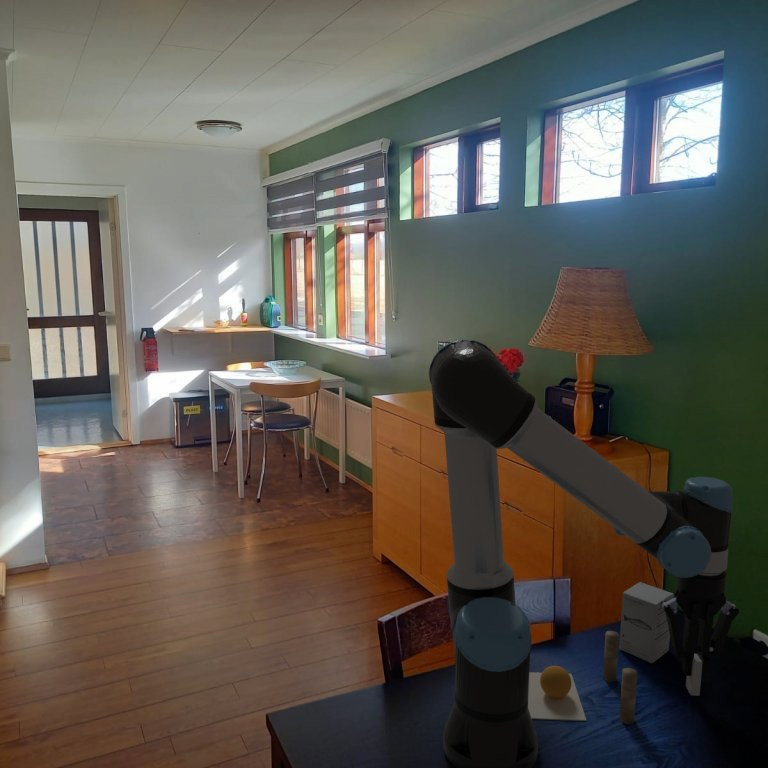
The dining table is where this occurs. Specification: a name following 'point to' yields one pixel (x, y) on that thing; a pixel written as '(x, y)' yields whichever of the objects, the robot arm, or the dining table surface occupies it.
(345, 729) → the dining table surface
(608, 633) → the left post
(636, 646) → the supplement box
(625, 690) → the right post
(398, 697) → the dining table surface
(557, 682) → the ball
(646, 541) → the robot arm
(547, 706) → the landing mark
